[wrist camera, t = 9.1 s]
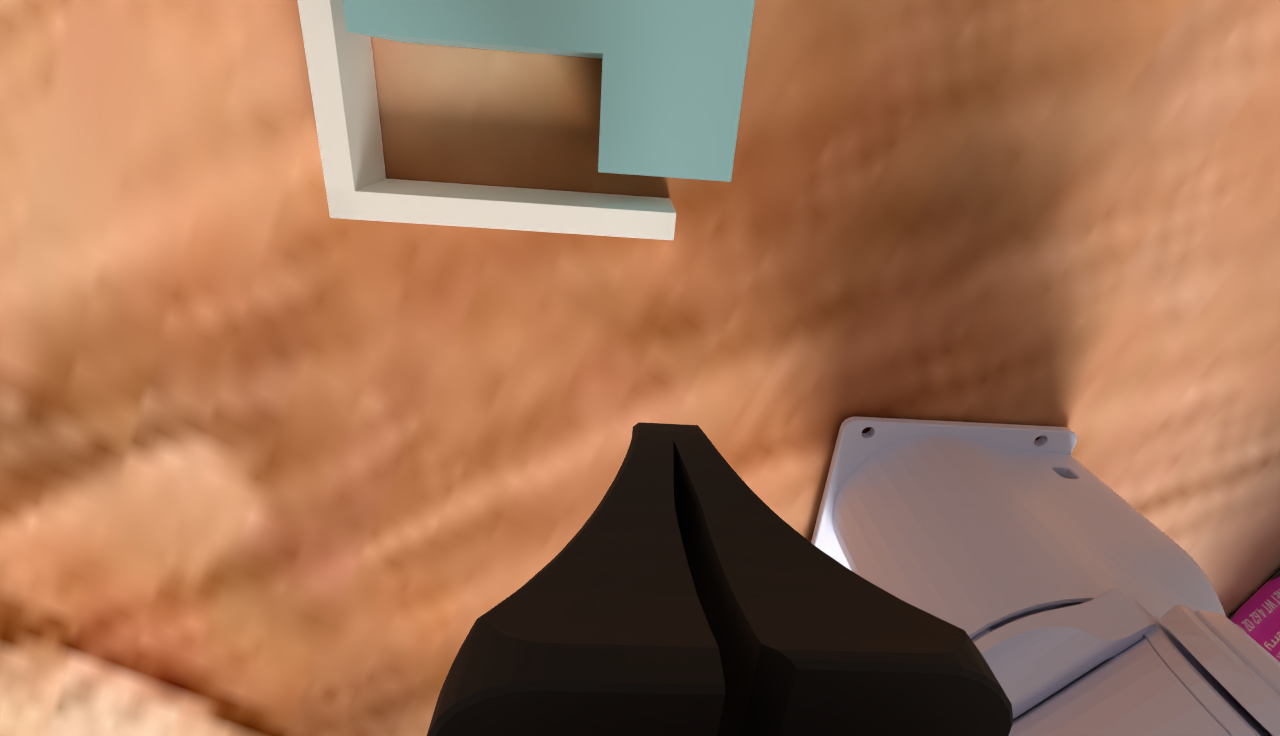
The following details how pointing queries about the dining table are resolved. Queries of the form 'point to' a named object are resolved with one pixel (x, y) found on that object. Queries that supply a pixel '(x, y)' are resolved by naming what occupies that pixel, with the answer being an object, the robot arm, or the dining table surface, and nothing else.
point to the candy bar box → (1262, 616)
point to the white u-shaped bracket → (368, 195)
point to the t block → (611, 66)
